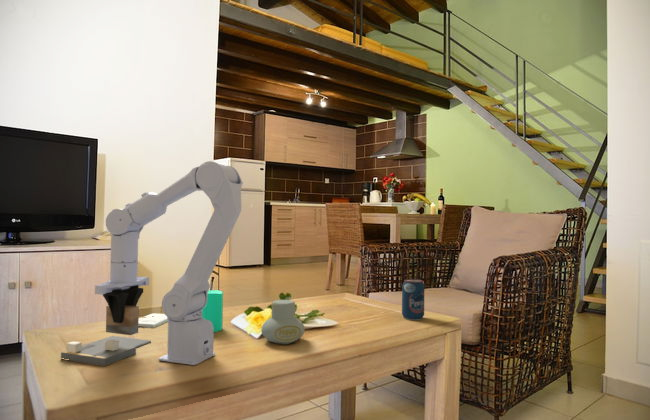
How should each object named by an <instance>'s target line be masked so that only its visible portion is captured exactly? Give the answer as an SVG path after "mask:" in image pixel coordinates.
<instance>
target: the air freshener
mask: <svg viewBox="0 0 650 420" xmlns="http://www.w3.org/2000/svg"><path fill="white" fill-rule="evenodd" d="M260 329H261V334H262V336H263V337H264V338H265V339H266V340H267V341H269V342H271V343H274V344H279V345H289V344H291V343H294V342H296V341H298V340H300V339H301V338H302V337H303V336H304V333H305V329H306V328H305V324H304V323H303V321H301V319H299V318H298V317H296V301H294V300H291V299H276V300H272V302H271V317H270V318H268V319H267V320H265V321H264V322H263V323H262V326H261V328H260Z"/></svg>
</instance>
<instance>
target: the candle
mask: <svg viewBox="0 0 650 420" xmlns="http://www.w3.org/2000/svg"><path fill="white" fill-rule="evenodd" d="M223 303H224V291H221V290H218V289H211V290H210V289H209V290H208V294H207V304H206V306H205V307H204V308H203V309H202V317H203V318H204V319H206V320H209V321H211V322H212V324H213V328H214V333H216V332H217V333H218V332H220V331H222V330H223V320H224V317H223V316H224V315H223V311H224V308H223V307H224V304H223Z"/></svg>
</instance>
